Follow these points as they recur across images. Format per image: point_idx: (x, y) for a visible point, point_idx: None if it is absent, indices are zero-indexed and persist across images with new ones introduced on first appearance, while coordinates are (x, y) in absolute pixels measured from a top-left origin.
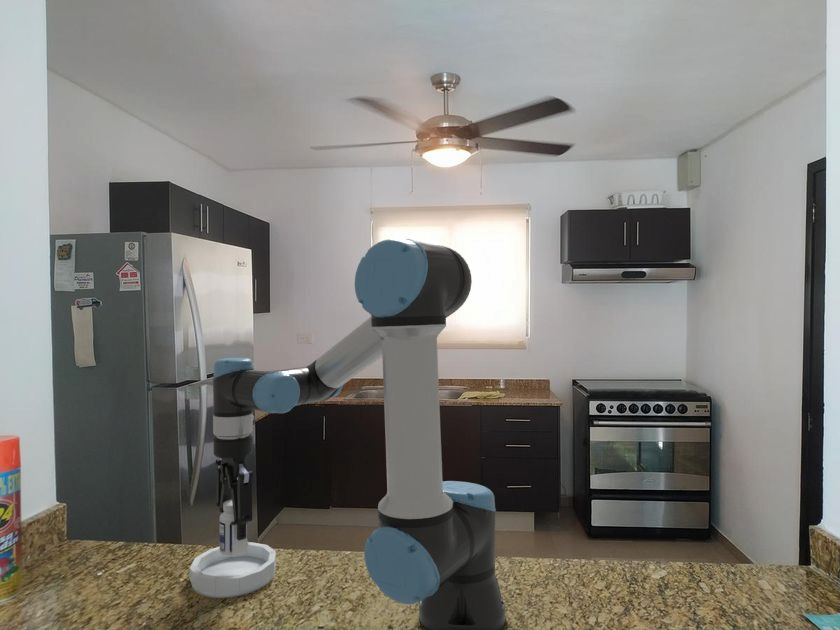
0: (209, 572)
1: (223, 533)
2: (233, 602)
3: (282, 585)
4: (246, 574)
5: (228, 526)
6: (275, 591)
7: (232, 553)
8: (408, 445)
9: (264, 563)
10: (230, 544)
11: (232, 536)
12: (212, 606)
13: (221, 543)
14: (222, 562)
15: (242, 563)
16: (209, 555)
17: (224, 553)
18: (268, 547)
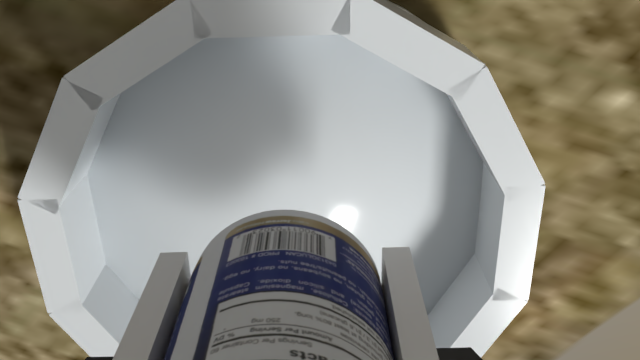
0: (375, 107)
1: (220, 313)
2: (16, 111)
3: (67, 334)
4: (41, 242)
5: None
6: (26, 294)
7: (177, 262)
8: None
9: None
10: (190, 292)
11: (141, 347)
12: (27, 8)
13: (255, 249)
14: (447, 202)
15: None
16: (484, 159)
17: (235, 223)
18: None
